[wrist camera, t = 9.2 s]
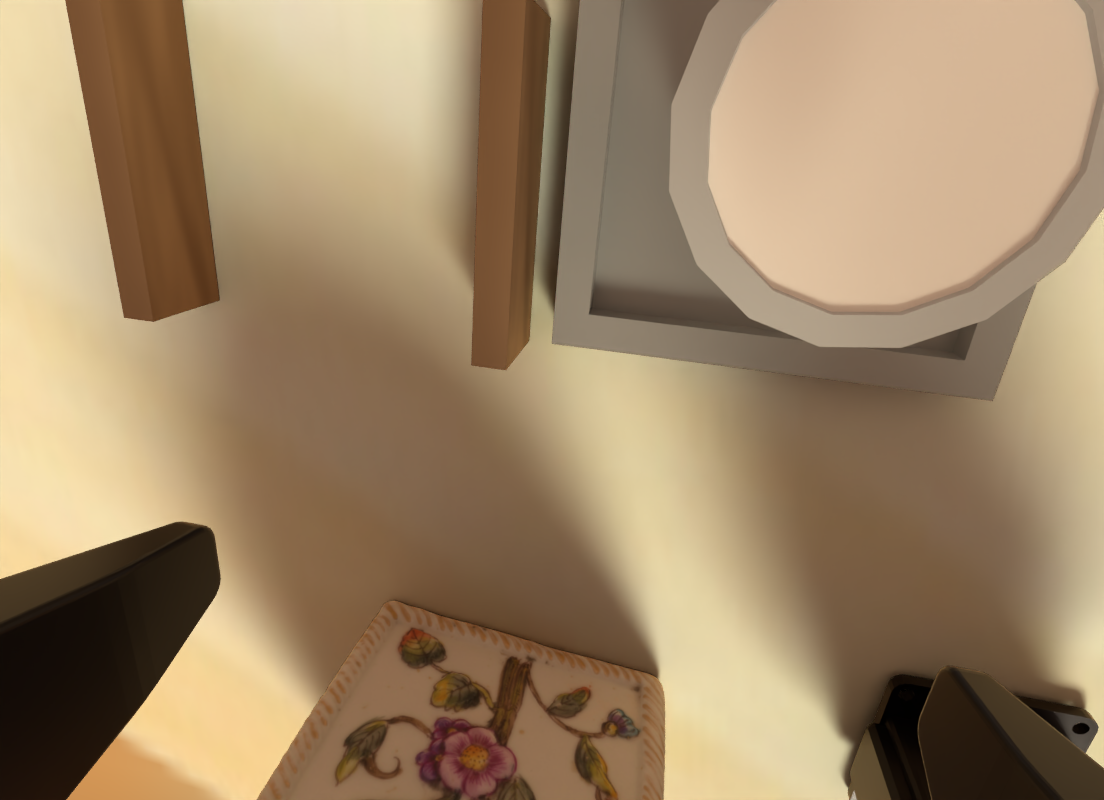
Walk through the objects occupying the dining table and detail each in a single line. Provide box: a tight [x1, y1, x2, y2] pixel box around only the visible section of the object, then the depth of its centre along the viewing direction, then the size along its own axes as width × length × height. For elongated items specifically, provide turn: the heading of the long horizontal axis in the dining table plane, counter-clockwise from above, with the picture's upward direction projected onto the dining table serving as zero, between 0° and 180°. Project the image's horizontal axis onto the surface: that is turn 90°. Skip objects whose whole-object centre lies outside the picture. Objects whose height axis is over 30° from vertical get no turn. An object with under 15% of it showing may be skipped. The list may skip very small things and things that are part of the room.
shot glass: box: [669, 0, 1104, 348], centre depth 13 cm, size 7×7×7 cm
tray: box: [552, 0, 1037, 401], centre depth 16 cm, size 12×12×2 cm
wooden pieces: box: [65, 0, 551, 370], centre depth 18 cm, size 12×9×3 cm
